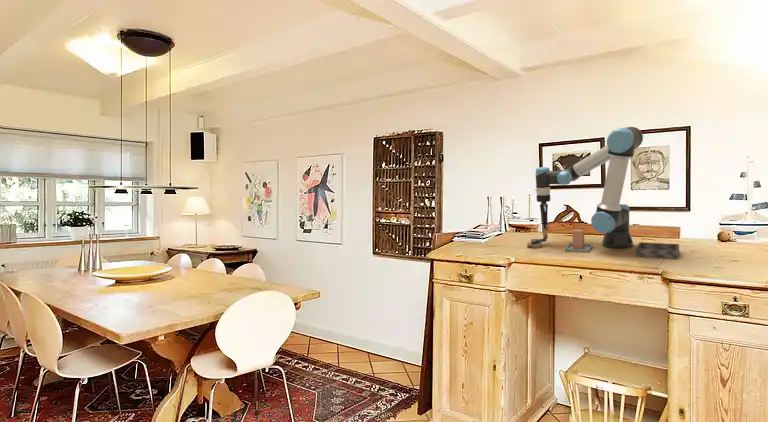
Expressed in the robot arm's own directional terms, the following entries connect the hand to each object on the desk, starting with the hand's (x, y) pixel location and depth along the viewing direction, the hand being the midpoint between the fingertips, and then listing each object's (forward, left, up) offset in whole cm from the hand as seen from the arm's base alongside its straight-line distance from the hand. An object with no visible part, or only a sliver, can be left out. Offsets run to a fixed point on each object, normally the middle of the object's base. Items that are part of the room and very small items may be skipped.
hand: (544, 234), depth 279 cm
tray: (-15, +15, -5) cm, 22 cm away
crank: (+3, +5, -3) cm, 7 cm away
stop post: (-15, +15, -5) cm, 22 cm away
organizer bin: (-49, +31, -5) cm, 59 cm away
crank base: (+7, +6, -5) cm, 10 cm away
